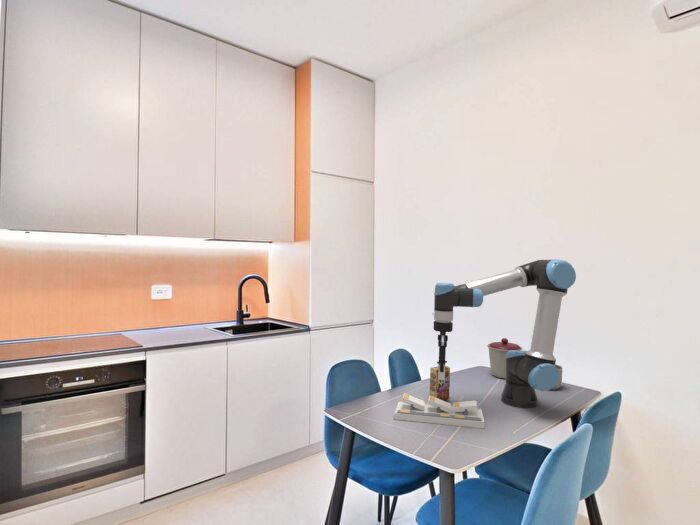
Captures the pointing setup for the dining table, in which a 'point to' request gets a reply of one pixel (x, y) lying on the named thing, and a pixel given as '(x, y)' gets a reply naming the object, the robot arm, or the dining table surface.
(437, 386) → the candy box
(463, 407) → the rocker
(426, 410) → the switch board
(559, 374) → the planter
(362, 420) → the dining table surface
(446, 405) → the rocker
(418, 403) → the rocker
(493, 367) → the canister
